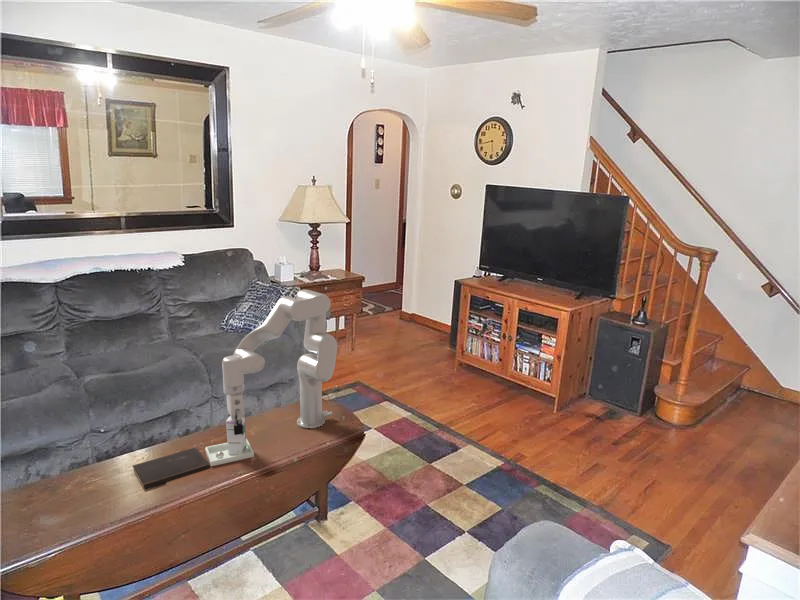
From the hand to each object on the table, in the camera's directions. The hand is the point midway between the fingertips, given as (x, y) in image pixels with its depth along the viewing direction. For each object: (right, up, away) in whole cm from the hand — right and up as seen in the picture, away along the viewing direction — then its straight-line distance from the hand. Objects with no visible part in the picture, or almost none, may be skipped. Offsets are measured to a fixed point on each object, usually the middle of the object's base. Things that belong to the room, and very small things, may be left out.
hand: (235, 428), depth 210 cm
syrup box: (0, -10, +2) cm, 10 cm away
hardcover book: (-21, -13, -10) cm, 27 cm away
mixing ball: (-5, -11, -4) cm, 12 cm away
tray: (-2, -10, 0) cm, 11 cm away
